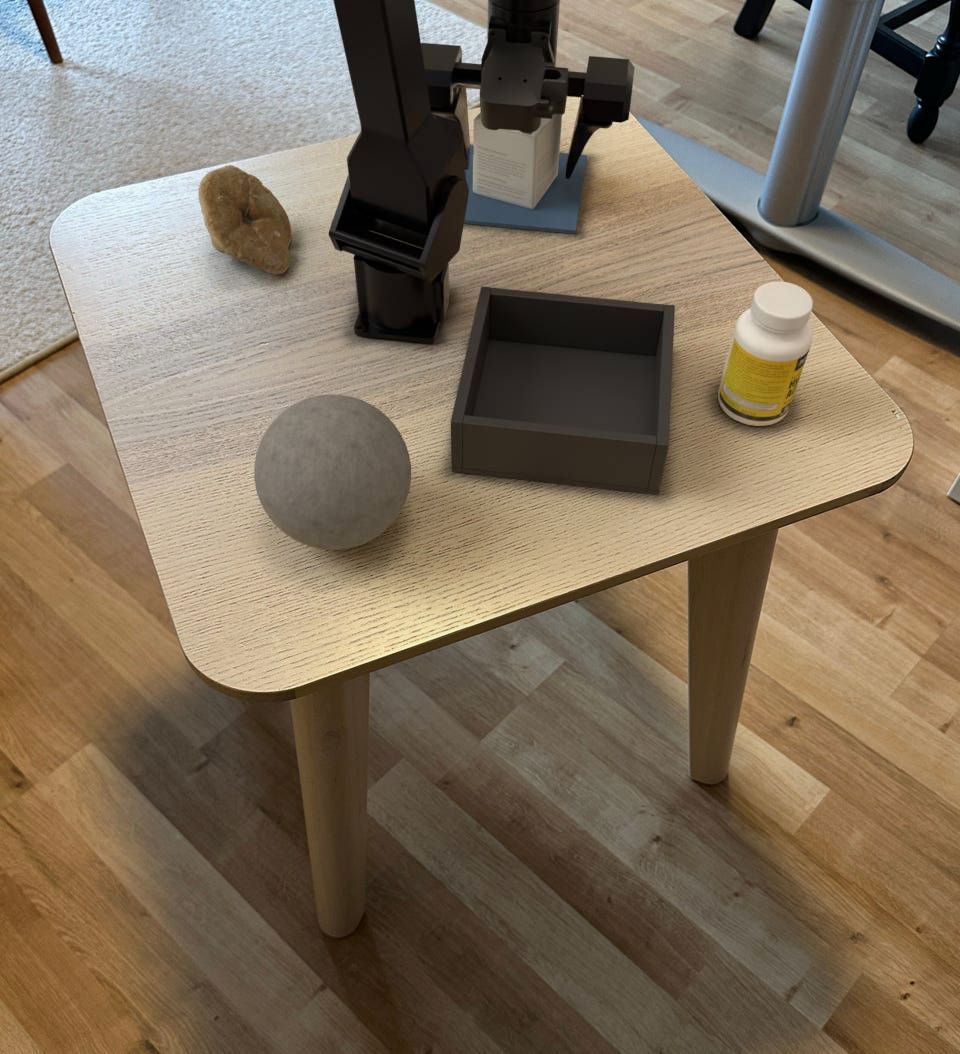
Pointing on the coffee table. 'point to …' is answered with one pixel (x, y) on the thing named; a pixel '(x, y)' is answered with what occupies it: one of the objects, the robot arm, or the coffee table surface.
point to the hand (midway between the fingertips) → (517, 171)
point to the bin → (565, 391)
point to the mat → (549, 213)
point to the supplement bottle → (767, 355)
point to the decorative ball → (332, 472)
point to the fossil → (245, 219)
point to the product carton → (516, 162)
